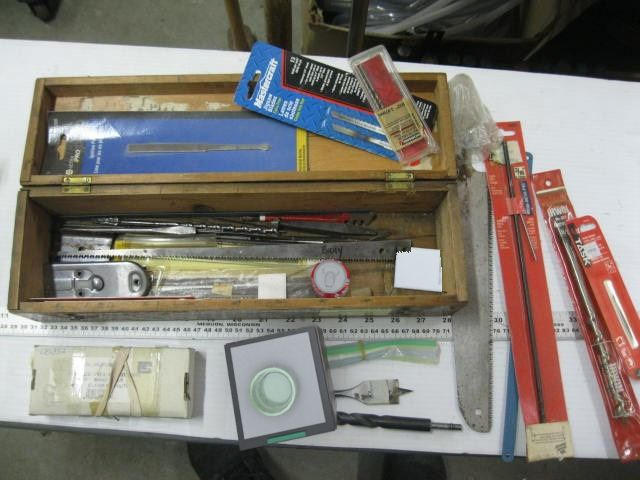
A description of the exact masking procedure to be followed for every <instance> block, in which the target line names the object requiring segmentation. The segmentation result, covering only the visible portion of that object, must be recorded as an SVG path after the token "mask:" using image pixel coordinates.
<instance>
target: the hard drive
mask: <svg viewBox="0 0 640 480" xmlns="http://www.w3.org/2000/svg"><path fill="white" fill-rule="evenodd" d="M410 247H411V252H410V251H409V253H408V252H407V251H406V252H403V251H402V253H401V252H400V251H399V253H398V252H397V253H396V252H395V255H396V254H397V255H396V260H395V259H394V272H393V288H394V289H404V290H414V291H423V292H424V291H425V292H436V293H443V292H442V267H441V257H440V250H441V249H433V248H424V247H423V248H422V247H412V246H410Z"/></svg>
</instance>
